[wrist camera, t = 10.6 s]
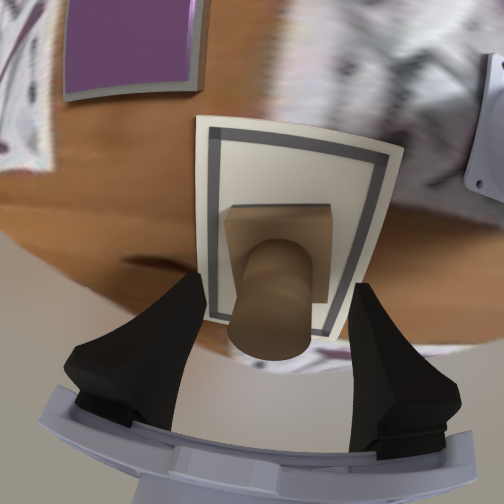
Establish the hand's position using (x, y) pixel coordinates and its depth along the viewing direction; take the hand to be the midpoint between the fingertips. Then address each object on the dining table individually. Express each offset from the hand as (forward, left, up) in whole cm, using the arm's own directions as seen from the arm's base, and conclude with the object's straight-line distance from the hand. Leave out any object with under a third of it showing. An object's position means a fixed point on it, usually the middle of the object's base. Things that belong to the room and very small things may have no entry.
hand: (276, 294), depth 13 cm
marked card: (0, 0, -4) cm, 4 cm away
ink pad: (+9, -15, -4) cm, 18 cm away
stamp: (0, 0, -3) cm, 4 cm away
